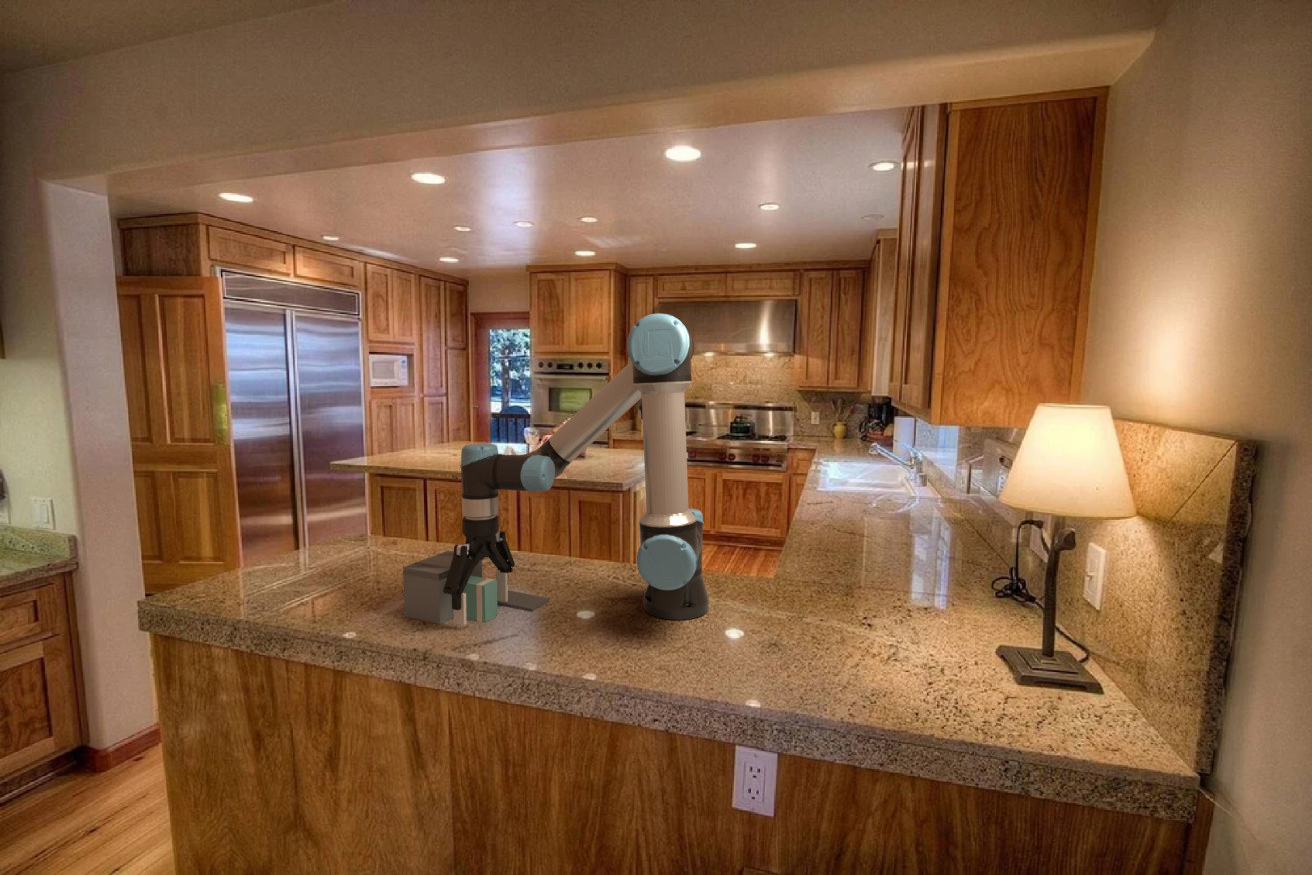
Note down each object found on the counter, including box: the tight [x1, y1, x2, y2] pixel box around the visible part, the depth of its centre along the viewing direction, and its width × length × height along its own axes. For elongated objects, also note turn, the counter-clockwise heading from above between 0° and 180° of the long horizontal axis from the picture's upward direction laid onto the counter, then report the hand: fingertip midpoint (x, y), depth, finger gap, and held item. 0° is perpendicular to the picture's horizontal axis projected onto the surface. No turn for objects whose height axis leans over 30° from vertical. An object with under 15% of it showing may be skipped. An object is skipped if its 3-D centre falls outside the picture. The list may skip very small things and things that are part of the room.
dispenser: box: [402, 550, 483, 625], centre depth 128 cm, size 10×14×11 cm
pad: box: [497, 590, 550, 612], centre depth 134 cm, size 13×7×1 cm, turn 67°
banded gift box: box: [453, 576, 498, 623], centre depth 126 cm, size 12×4×8 cm, turn 67°
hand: (482, 611), depth 124 cm, fingers open, 13 cm apart
